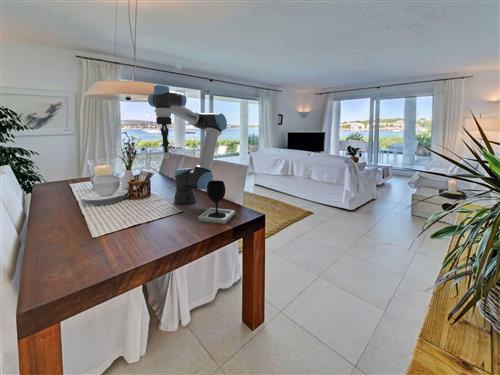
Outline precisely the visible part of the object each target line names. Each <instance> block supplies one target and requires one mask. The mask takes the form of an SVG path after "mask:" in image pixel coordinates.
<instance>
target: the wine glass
mask: <svg viewBox="0 0 500 375" xmlns="http://www.w3.org/2000/svg"><path fill="white" fill-rule="evenodd" d="M206 194H207V197H208V198H209V199H210V200H211V201H212V202H213V203H214V204H215V208H216V212H214V213H210V214H209V215H208V217H212V218H224V217H225V216H226V214H225V213H222V212H218V209H219V208H218V204H219V202H221V201H222V200H223V199H224V198H225V196H226V185H225V182H224V180H213V181H209V182H208V185H207V189H206Z"/></svg>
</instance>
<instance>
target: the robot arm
mask: <svg viewBox="0 0 500 375" xmlns="http://www.w3.org/2000/svg"><path fill="white" fill-rule="evenodd" d="M147 96H148V97H147V103H148V104H149V106H150V107H153V108H155V109H154V110H153V111H154V112H155V116H156V118H155V119H156V125H161V127H160V134H161V136H162V144H161V147H162V150H163V151H162V153H163V160H169V159H170V152H169V150H170V149H169V148H170V147H169V145H170V141H169V138H168V137H169V127H168V126H167V125H172V124H173V123H172V118H171V117H172V115H173V116H176V117H178V118H180V119H181V120H184V121H186V122H187V123H188V125H190V126H192V127H195V128H197V129H199V130H203V131H205V135H204V139H203V143H202V147H201V151H200V154H199V158H198V163H197V165H195V166H194V168H192V167H185V168H178V169H176V170H175V171H174V179H175V194H174V197H173V200H174V201H173V202H174V204H178V205H189V204H194V203H195V202H197V196H196V193H195V191H194V189H196V190H197V189H198V190H206V191H207V185H208V182H209V181H214V174H213V173H212V169H211V168H212V163H213V158H214V154H215V150H216V146H217V143H218V139H219V136H221V135H222V133H223V132H224V131H225V130H226V129H227V125H228V122H227V118H226V116H225V115H224V114H223V113H222V112H197V111H196V110H194V111H193V110H191V109H189V108H187V107H186V105H187V96H186V95H185V94H184V93H183V92H180V91H172V90H170V86H168V85H166V84H165V85H164V84H156V85H154V86H153V93H150V94H149V95H147Z"/></svg>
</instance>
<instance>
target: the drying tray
mask: <svg viewBox="0 0 500 375" xmlns="http://www.w3.org/2000/svg"><path fill="white" fill-rule="evenodd" d="M214 212H216V207H215V208H214V207H209V208H208V209H206V210H205V211H204V212H202V214H200V215H198V217H197V218H198V219H197V220H198V222H204V223H205V222H206V223H213V224H220V223H221V224H222V225H226V224H227V223H228V222H229V221H230V220H231V219H233V217H234V216H235V215H236V210H234V209H225V208H224V209H223V208H218V212H222V213H225V214H226V216H225V217H224V218H212V217H208V215H209V214H210V213H214Z"/></svg>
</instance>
